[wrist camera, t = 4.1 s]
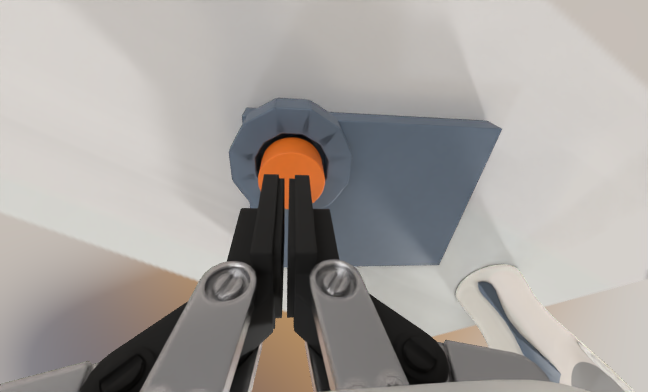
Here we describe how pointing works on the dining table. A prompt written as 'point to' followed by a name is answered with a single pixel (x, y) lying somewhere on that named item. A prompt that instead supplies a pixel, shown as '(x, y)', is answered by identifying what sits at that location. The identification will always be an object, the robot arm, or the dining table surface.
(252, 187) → the scale
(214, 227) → the dining table surface
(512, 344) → the beer glass
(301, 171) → the button
